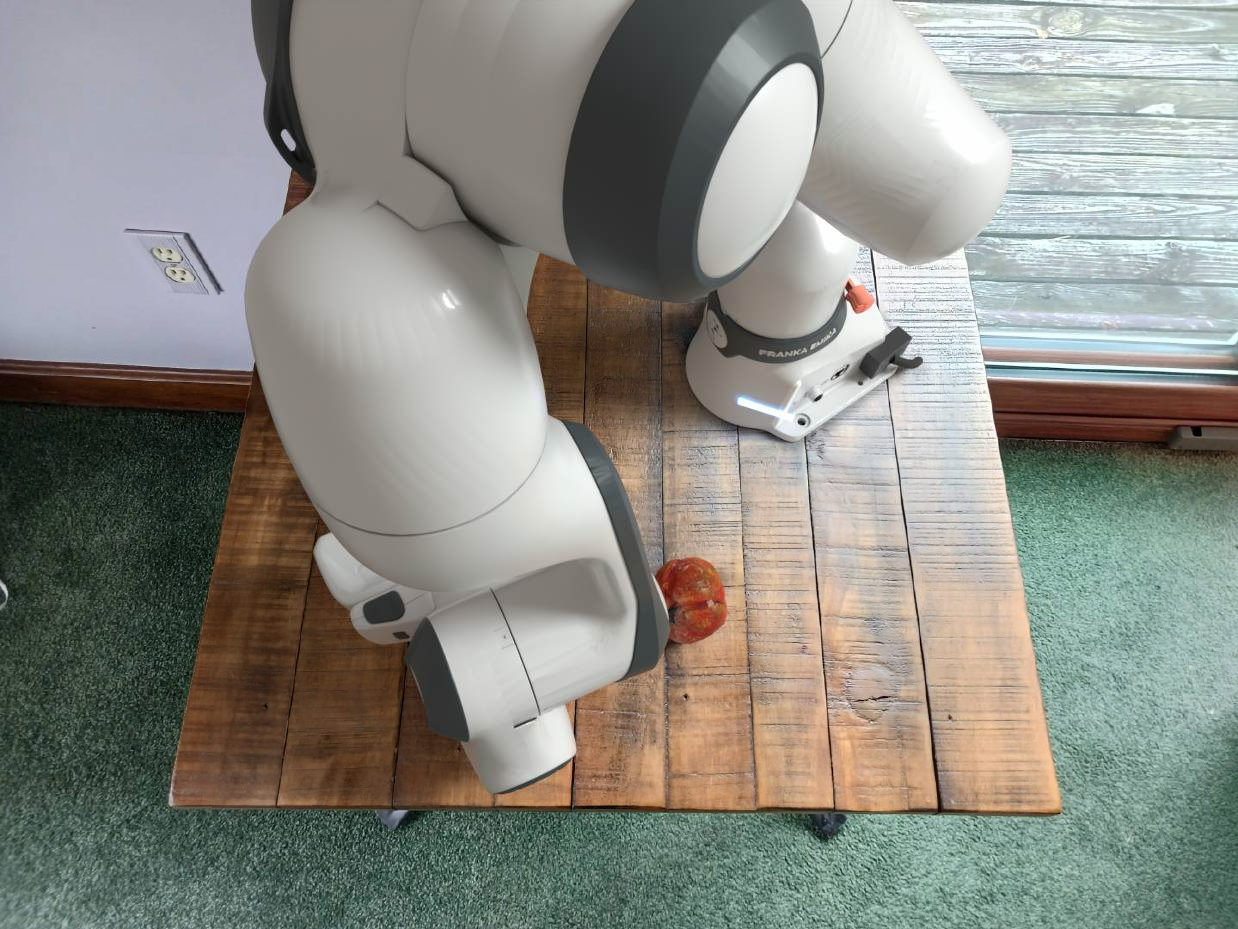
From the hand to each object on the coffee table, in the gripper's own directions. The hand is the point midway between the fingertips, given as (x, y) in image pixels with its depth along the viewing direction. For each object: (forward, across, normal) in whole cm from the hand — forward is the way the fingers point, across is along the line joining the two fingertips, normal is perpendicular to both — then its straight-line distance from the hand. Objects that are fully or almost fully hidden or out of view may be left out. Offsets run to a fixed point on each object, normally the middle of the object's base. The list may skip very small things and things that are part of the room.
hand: (409, 456), depth 72 cm
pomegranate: (-21, -18, +8) cm, 29 cm away
